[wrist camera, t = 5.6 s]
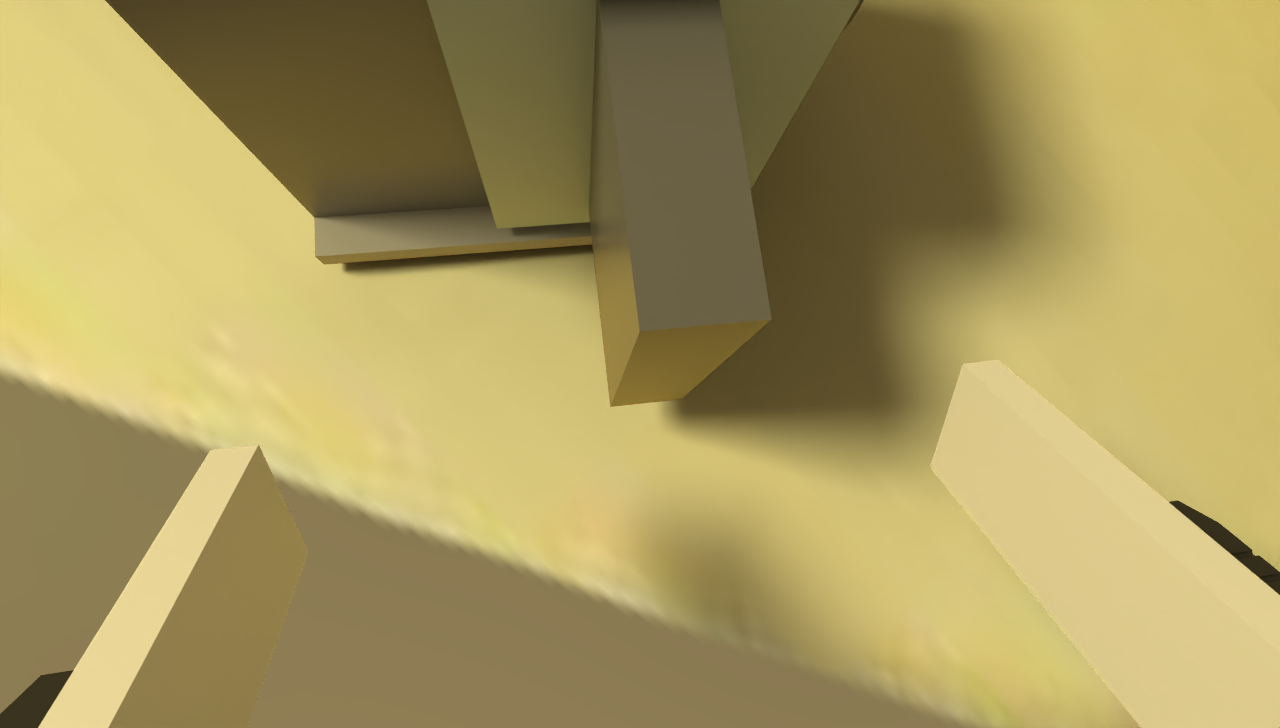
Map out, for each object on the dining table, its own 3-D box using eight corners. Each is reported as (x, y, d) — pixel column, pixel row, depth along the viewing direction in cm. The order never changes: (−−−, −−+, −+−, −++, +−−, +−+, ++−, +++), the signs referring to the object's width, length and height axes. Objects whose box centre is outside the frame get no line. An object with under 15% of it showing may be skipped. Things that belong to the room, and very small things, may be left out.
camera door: (734, 192, 24) (887, -98, 12) (767, 393, 22) (976, 286, 11) (495, 208, 23) (407, -93, 11) (512, 420, 21) (432, 335, 10)
